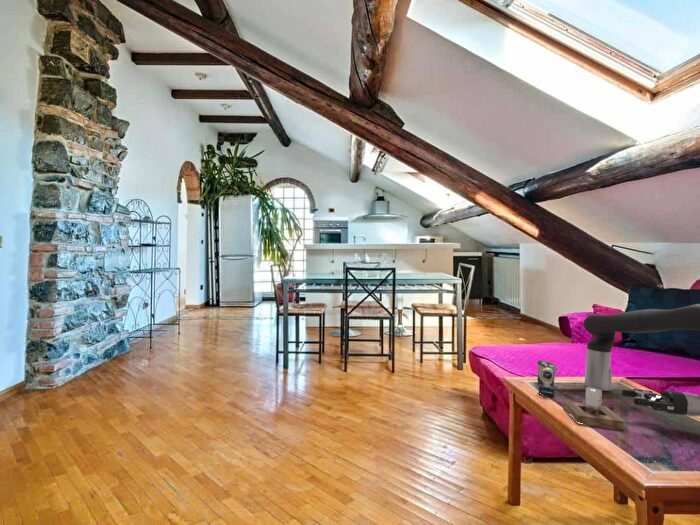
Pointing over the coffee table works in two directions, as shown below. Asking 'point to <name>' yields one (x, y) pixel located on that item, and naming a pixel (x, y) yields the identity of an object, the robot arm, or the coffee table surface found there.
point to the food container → (542, 366)
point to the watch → (547, 382)
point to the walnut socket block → (594, 416)
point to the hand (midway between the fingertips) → (628, 396)
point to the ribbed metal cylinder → (593, 401)
